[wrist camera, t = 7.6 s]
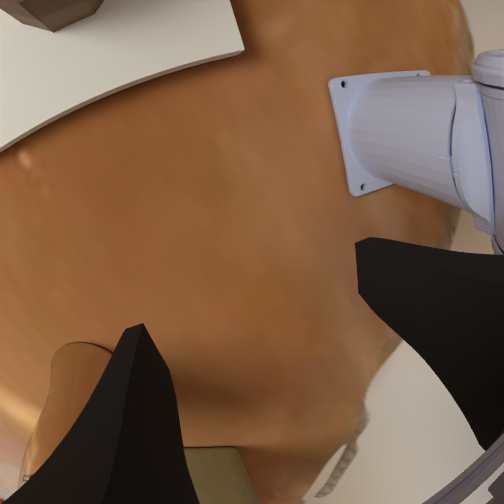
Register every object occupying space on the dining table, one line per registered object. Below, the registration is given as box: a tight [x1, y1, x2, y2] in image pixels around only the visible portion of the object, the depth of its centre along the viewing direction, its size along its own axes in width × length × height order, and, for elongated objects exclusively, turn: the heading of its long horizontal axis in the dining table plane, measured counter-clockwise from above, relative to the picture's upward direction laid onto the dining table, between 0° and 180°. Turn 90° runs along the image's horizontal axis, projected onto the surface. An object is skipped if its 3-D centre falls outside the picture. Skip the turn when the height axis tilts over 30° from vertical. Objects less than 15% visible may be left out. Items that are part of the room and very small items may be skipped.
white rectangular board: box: [0, 0, 245, 152], centre depth 10 cm, size 16×13×2 cm
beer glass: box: [18, 343, 112, 489], centre depth 13 cm, size 7×7×15 cm
